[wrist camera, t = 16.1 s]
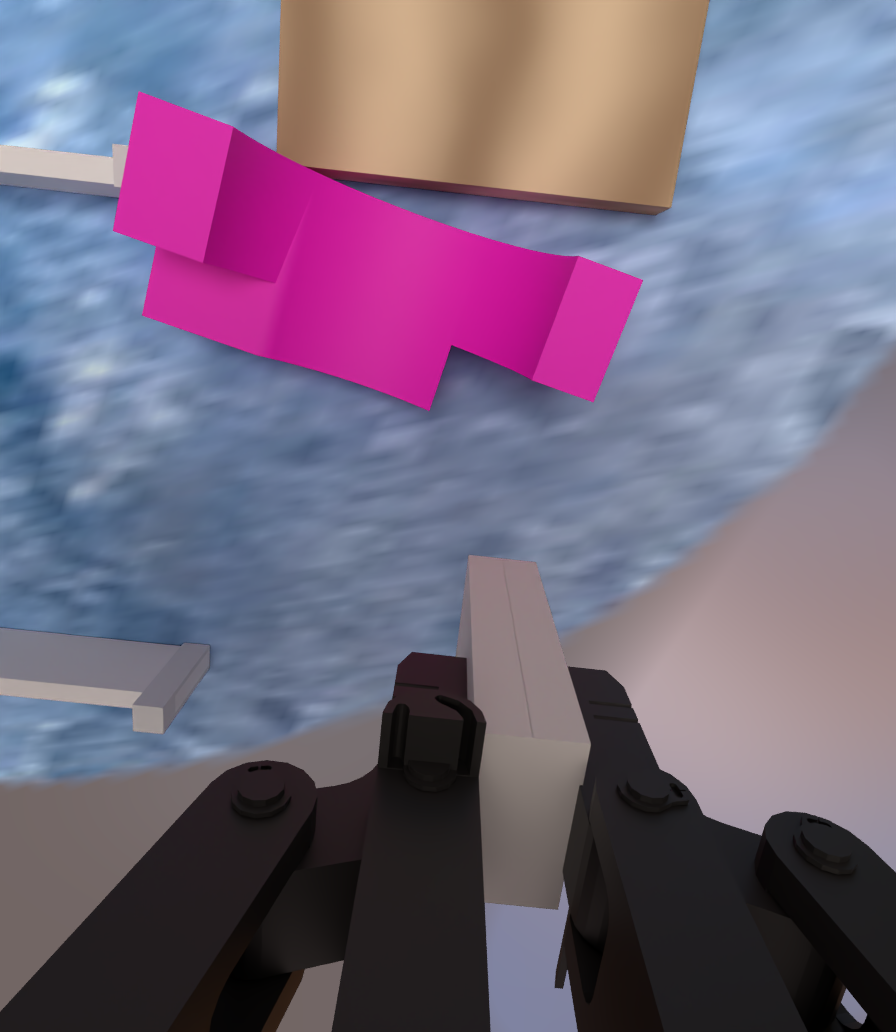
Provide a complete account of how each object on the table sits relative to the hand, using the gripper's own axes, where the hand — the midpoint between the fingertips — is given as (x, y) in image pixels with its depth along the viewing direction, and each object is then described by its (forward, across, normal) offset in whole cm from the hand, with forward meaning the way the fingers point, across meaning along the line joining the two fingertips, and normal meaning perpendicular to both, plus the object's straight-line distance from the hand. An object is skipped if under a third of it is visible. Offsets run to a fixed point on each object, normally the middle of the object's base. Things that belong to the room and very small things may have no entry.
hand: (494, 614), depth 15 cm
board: (+14, -2, +18) cm, 23 cm away
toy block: (+15, -4, +6) cm, 17 cm away
